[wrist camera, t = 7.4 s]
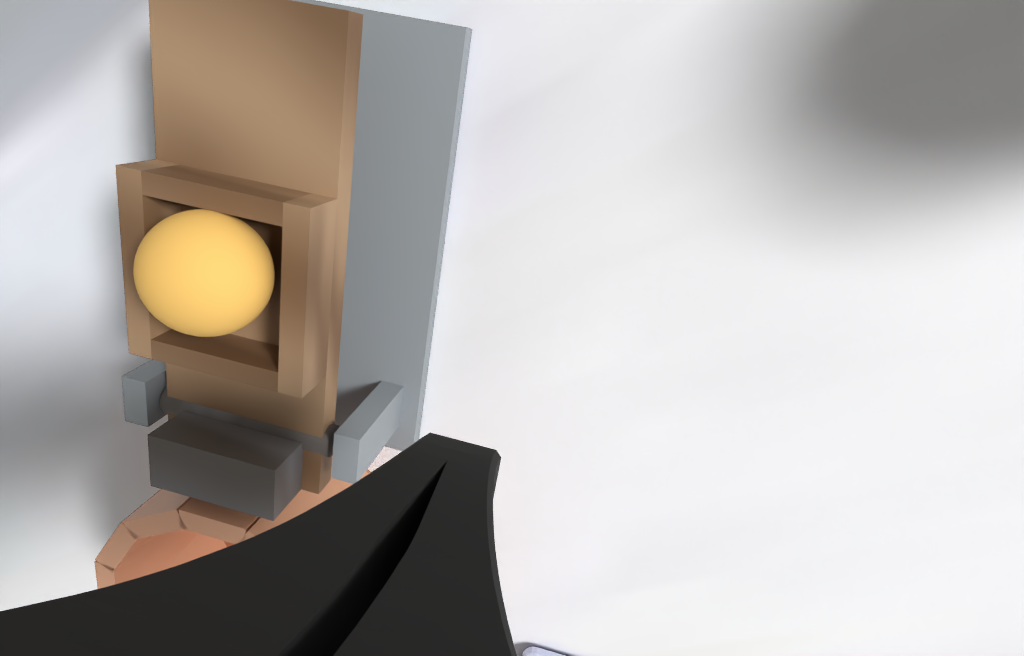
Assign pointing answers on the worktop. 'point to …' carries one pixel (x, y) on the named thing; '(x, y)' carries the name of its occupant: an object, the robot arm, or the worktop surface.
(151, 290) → the ball
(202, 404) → the catapult lever
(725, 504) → the worktop surface
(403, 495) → the robot arm
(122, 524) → the wooden basket
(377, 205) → the stand
